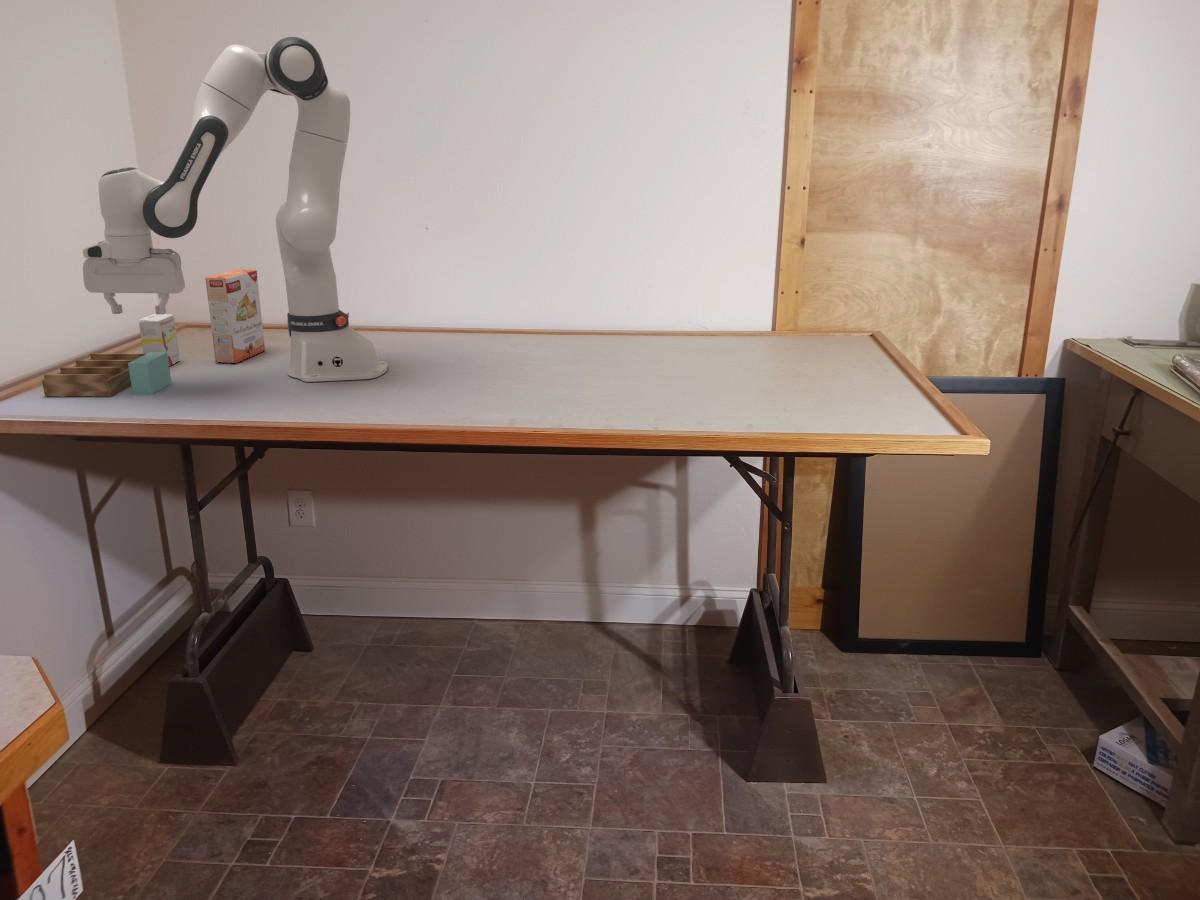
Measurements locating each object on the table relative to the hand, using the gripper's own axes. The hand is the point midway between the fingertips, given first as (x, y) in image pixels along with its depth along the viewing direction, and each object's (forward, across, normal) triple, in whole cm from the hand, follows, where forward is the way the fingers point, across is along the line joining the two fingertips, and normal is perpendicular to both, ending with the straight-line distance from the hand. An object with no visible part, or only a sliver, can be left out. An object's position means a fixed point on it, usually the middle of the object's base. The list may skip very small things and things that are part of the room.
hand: (139, 313), depth 209 cm
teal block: (+17, 0, 0) cm, 17 cm away
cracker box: (+16, -10, -29) cm, 35 cm away
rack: (+17, +12, -3) cm, 21 cm away
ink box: (+17, +6, -21) cm, 28 cm away
